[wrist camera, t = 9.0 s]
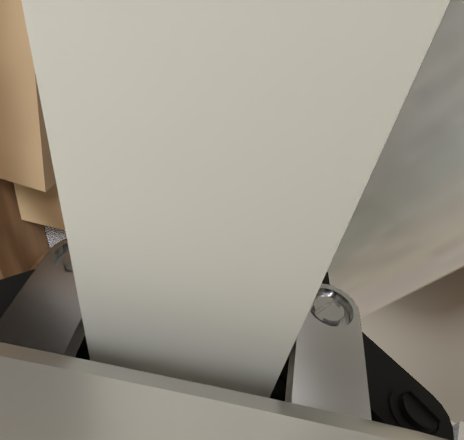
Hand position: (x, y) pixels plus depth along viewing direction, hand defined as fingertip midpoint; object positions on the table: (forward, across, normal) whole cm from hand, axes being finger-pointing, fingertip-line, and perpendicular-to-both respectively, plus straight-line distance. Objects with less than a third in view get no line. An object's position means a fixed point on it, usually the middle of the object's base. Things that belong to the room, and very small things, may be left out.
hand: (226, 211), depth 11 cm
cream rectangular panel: (+7, 0, 0) cm, 7 cm away
